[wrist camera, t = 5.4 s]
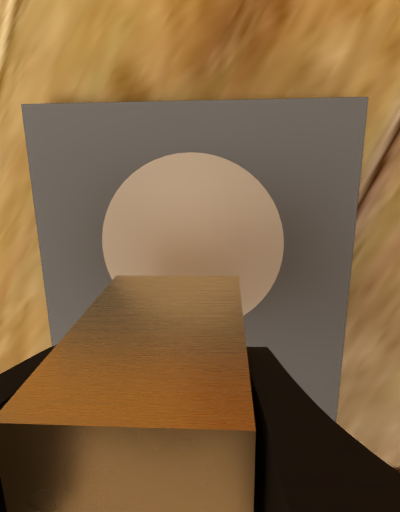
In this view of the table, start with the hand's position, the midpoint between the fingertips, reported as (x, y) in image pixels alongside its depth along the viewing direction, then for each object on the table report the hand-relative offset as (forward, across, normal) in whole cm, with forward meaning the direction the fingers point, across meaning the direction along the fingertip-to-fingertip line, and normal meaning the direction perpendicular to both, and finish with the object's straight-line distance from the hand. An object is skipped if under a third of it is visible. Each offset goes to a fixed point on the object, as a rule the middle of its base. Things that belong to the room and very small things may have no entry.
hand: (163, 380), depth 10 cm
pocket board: (+10, 0, +4) cm, 11 cm away
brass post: (+3, 0, 0) cm, 3 cm away
